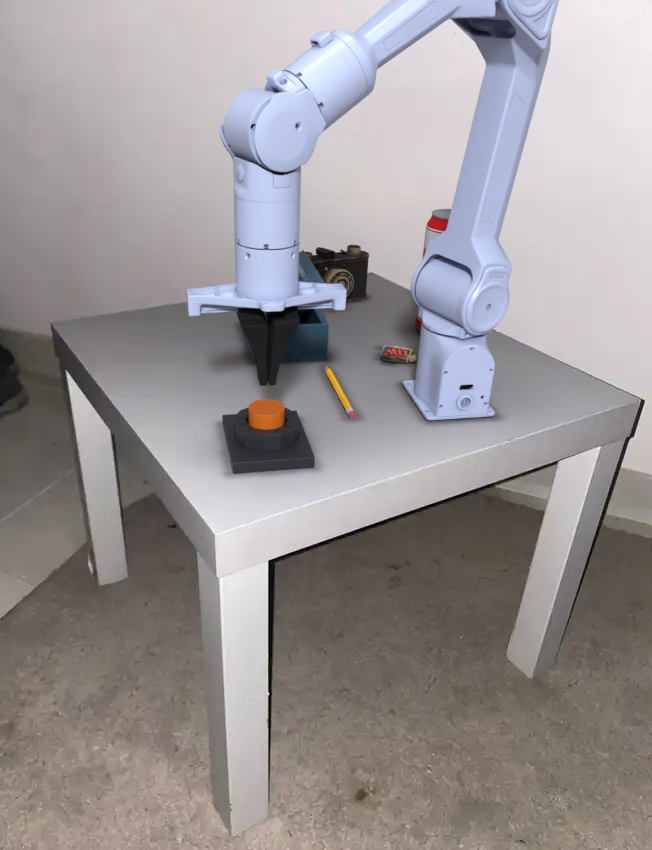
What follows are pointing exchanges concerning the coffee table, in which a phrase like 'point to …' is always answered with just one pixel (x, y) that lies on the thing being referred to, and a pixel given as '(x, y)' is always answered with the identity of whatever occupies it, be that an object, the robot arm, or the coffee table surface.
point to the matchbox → (397, 354)
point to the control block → (266, 444)
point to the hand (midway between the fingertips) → (266, 381)
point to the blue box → (306, 338)
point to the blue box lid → (307, 270)
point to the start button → (266, 414)
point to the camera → (343, 269)
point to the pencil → (340, 393)
